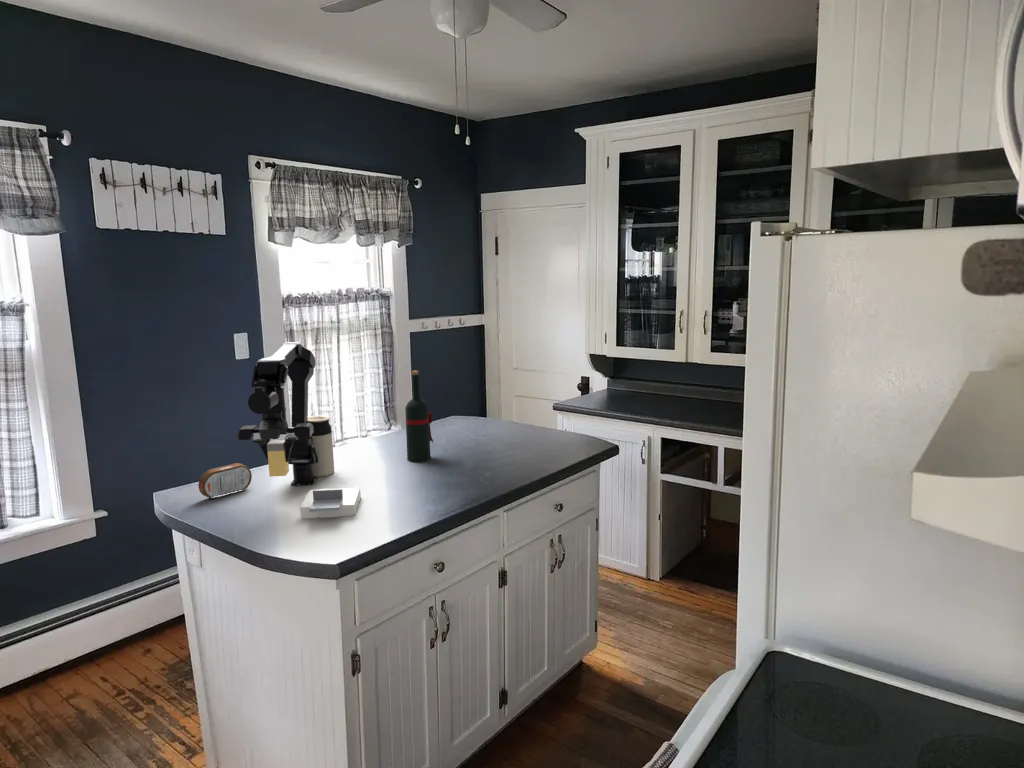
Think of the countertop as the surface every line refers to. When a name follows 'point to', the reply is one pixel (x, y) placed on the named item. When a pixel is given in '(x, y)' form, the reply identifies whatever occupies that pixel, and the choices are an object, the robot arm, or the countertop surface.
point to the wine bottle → (418, 425)
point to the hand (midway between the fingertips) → (278, 462)
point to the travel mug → (322, 445)
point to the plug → (277, 458)
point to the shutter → (326, 500)
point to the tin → (224, 480)
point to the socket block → (347, 509)
